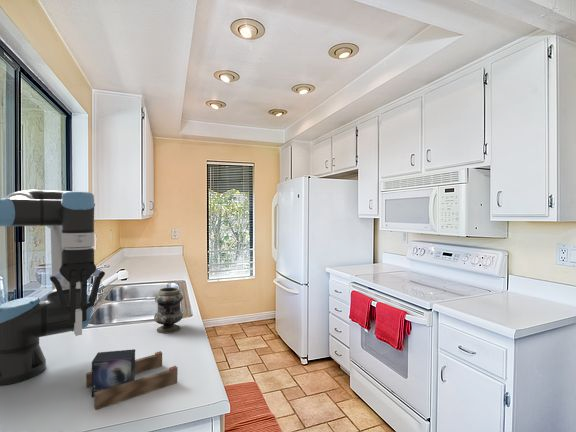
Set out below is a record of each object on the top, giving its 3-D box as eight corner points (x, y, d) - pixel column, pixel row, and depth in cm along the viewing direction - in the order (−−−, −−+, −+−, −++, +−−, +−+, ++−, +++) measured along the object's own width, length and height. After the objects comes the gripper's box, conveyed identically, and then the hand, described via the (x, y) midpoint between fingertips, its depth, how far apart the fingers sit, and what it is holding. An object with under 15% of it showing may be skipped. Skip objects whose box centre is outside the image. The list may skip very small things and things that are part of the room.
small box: (90, 398, 91) (90, 361, 91) (97, 386, 97) (97, 351, 97) (131, 393, 94) (131, 357, 93) (135, 382, 100) (135, 348, 100)
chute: (95, 409, 86) (95, 392, 86) (85, 385, 97) (86, 370, 97) (177, 382, 100) (177, 367, 100) (160, 364, 111) (160, 351, 111)
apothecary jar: (183, 332, 141) (184, 291, 141) (154, 336, 137) (154, 293, 136) (181, 323, 152) (182, 285, 152) (154, 326, 148) (154, 287, 147)
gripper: (49, 251, 82) (49, 344, 82) (107, 247, 90) (107, 332, 90) (47, 248, 88) (47, 335, 88) (102, 245, 96) (102, 325, 96)
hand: (78, 333), depth 89 cm, fingers closed
